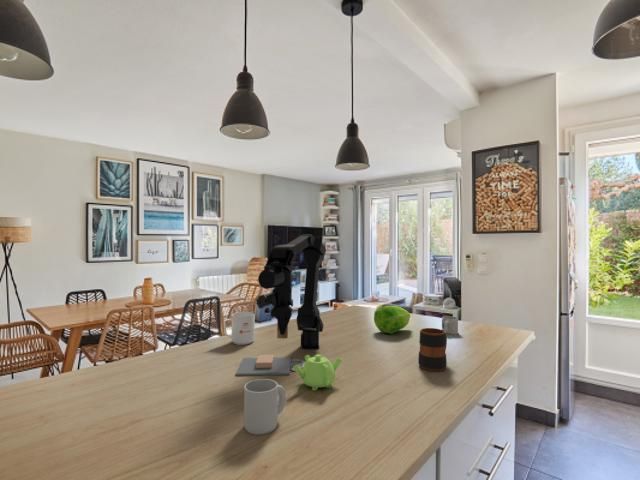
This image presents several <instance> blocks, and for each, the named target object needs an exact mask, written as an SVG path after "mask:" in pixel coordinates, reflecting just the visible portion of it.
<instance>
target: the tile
mask: <svg viewBox="0 0 640 480" xmlns="http://www.w3.org/2000/svg"><path fill="white" fill-rule="evenodd" d="M257 358H258V359H257V361H256V368H272V366H273V362H274V358H275V354H266V355H265V354H261V355H260V354H259V355H258V357H257Z"/></svg>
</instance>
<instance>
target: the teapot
mask: <svg viewBox="0 0 640 480" xmlns="http://www.w3.org/2000/svg"><path fill="white" fill-rule="evenodd" d="M304 360H305V362H304V365H303V367H302V368H301V367H300V366H299V364H296V365H294V366H293V370H294V371H295V373H297V374H298V376H299V377H300V378H301V381H302V382H303V383H304V385H306V386H308V387H310V388H311V390H312V391H313V392H317V391H318V390H319V388H326V389H330V388H331V387H332V384H333V382H335V380H336V371H337V369H338V367H339V366H340V364H341V363H342V359H340V358H339V357H337V358H336V359H335V361H334V362H333V364H332V362H331V361H330V360H329V359H328V358H327V357H325V356H323V355H322V354H318V353H317V354H315V355H314V356H312V357H311V356H310V354H306V355H304Z"/></svg>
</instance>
